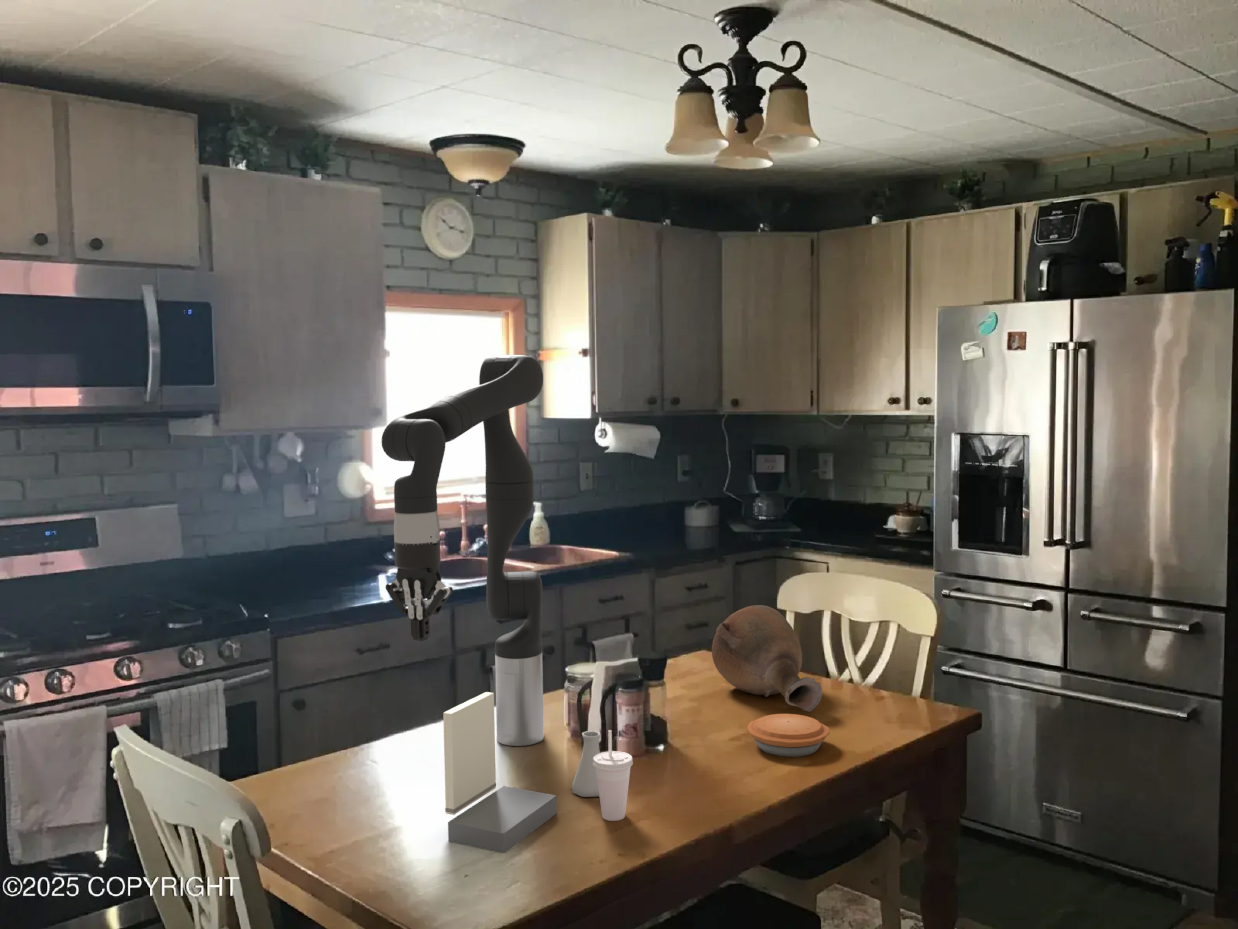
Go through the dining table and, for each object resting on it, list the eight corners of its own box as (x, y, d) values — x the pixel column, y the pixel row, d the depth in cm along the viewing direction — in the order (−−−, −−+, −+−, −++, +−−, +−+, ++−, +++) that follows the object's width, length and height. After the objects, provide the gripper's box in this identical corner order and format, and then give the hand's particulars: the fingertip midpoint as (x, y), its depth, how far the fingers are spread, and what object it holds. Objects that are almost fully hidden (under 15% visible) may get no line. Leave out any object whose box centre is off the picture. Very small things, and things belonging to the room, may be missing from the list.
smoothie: (611, 805, 174) (610, 722, 173) (641, 814, 170) (640, 730, 169) (585, 817, 169) (584, 732, 168) (616, 828, 165) (615, 740, 164)
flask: (564, 786, 183) (563, 730, 182) (603, 780, 186) (602, 724, 185) (579, 801, 176) (579, 743, 175) (619, 794, 179) (618, 737, 178)
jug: (704, 682, 246) (766, 743, 218) (694, 606, 240) (756, 659, 212) (780, 656, 252) (850, 713, 224) (772, 582, 246) (842, 631, 219)
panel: (488, 786, 174) (486, 691, 173) (496, 788, 174) (494, 693, 172) (445, 813, 163) (442, 712, 162) (453, 815, 163) (451, 714, 162)
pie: (794, 768, 191) (794, 741, 190) (730, 746, 202) (730, 721, 202) (846, 747, 201) (846, 722, 200) (782, 728, 212) (782, 704, 212)
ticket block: (504, 803, 175) (503, 786, 175) (556, 813, 171) (556, 795, 171) (448, 841, 161) (447, 822, 161) (503, 853, 157) (503, 833, 157)
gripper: (371, 539, 176) (375, 641, 177) (435, 543, 170) (438, 649, 171) (400, 533, 183) (404, 631, 184) (462, 537, 176) (465, 638, 178)
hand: (420, 640), depth 177 cm, fingers closed
